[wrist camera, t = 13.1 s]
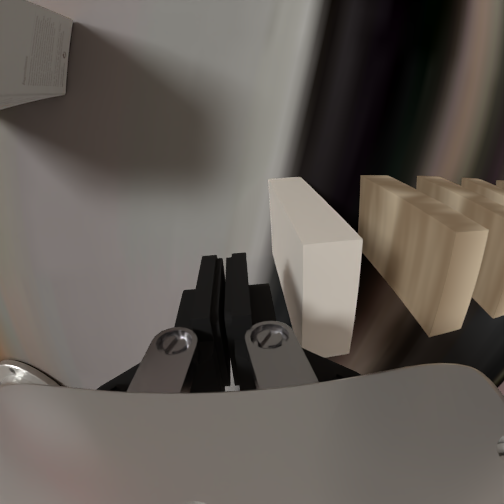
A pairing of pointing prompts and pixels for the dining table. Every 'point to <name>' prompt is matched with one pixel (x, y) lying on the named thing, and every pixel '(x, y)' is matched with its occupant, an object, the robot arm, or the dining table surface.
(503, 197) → the domino
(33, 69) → the small box
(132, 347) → the dining table surface
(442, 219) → the domino
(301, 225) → the domino
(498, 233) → the domino
